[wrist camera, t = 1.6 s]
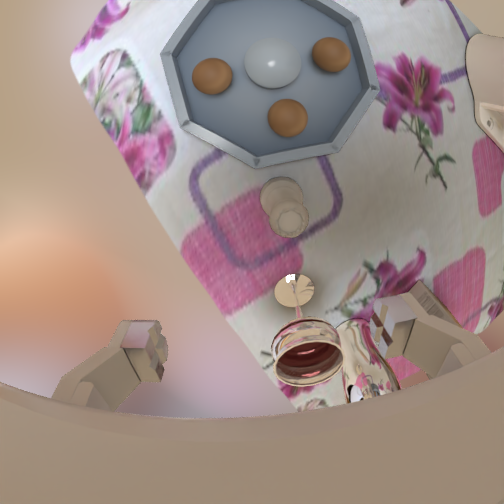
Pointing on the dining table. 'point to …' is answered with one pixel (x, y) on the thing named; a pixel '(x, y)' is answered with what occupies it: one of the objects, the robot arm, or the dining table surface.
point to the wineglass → (304, 339)
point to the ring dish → (253, 103)
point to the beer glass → (364, 364)
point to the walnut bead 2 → (287, 117)
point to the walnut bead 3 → (331, 54)
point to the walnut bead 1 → (212, 76)
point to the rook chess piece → (284, 206)
